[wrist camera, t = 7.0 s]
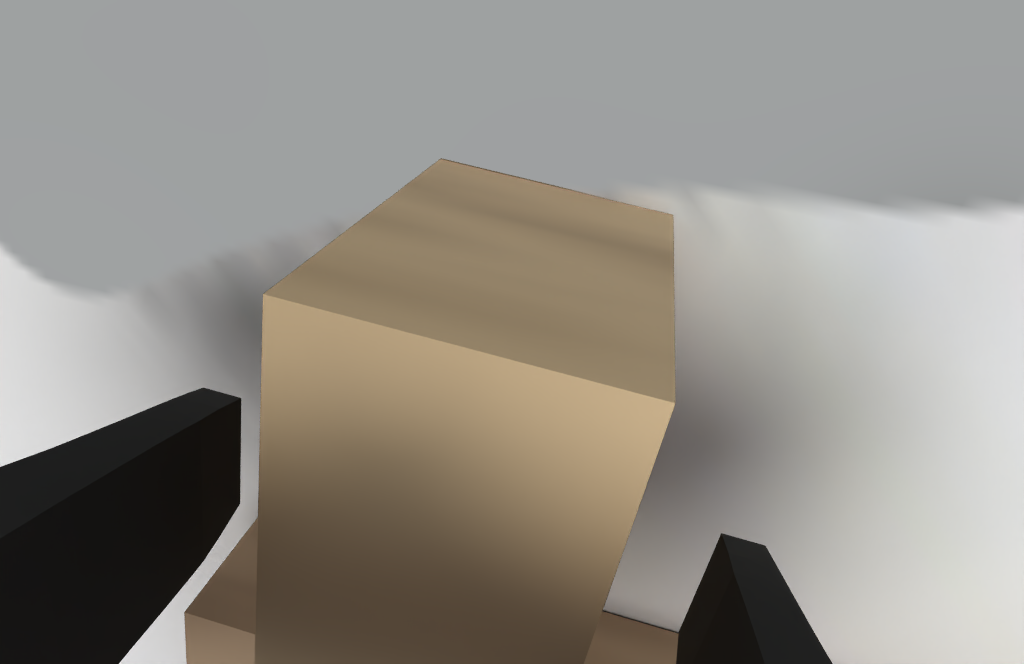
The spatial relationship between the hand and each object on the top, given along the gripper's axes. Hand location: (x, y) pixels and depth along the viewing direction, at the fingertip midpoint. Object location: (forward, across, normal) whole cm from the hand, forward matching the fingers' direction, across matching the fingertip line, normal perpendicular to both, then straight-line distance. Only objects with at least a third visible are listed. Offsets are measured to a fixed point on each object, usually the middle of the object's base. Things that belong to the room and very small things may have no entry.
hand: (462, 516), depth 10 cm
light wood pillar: (+4, 0, +2) cm, 5 cm away
